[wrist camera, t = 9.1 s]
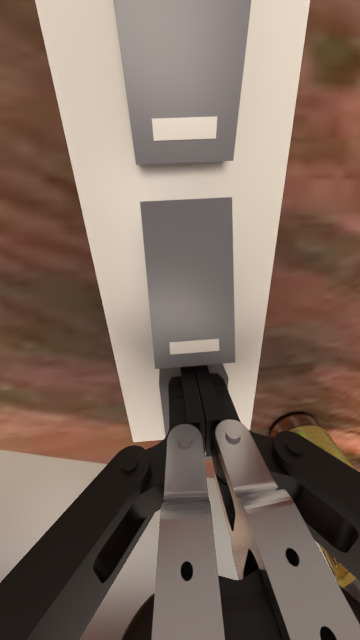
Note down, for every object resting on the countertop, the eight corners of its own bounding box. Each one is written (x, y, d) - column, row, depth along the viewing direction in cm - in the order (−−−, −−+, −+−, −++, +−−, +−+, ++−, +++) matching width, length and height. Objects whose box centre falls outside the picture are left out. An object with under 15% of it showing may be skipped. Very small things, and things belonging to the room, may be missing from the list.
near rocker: (84, -267, 4) (49, -458, 3) (258, -260, 5) (301, -438, 3) (139, 162, 9) (135, 164, 8) (222, 159, 10) (233, 160, 8)
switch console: (71, 4, 10) (-4, -176, 6) (267, 1, 11) (343, -169, 6) (140, 397, 21) (133, 442, 17) (234, 389, 22) (253, 431, 17)
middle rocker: (145, 216, 10) (139, 200, 8) (221, 212, 10) (232, 196, 9) (157, 356, 12) (154, 369, 10) (225, 351, 12) (235, 362, 10)
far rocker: (159, 363, 13) (158, 384, 11) (220, 359, 13) (229, 378, 11) (168, 439, 16) (168, 463, 15) (217, 434, 16) (222, 458, 15)
